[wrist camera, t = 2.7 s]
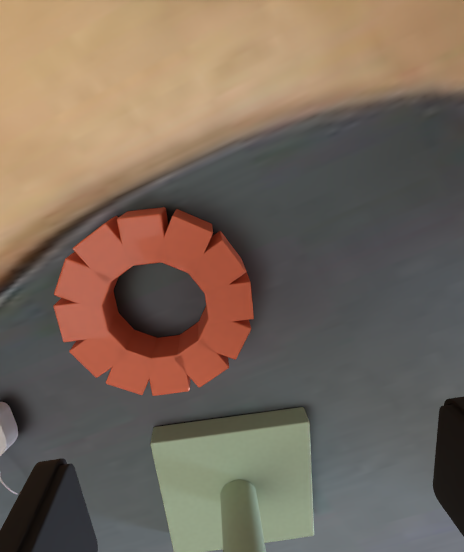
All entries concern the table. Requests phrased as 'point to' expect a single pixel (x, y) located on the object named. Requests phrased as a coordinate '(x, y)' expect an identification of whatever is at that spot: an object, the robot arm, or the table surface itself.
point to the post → (236, 480)
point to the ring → (134, 344)
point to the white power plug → (7, 431)
